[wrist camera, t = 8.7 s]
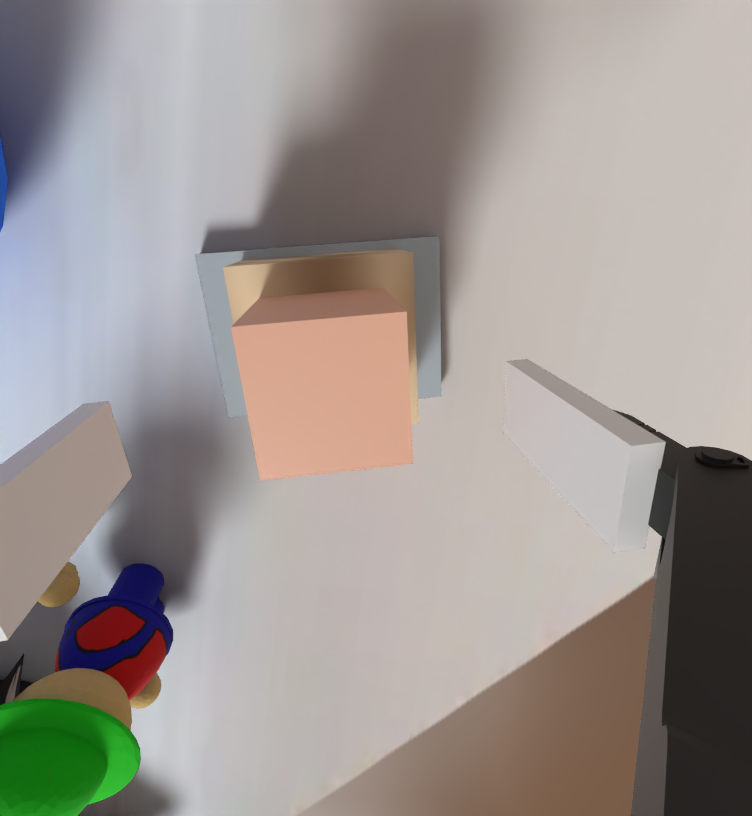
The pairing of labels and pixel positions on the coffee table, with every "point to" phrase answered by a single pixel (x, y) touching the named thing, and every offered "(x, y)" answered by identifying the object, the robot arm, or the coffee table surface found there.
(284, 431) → the salmon pink block
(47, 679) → the toy
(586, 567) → the coffee table surface
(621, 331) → the coffee table surface
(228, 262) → the board
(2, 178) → the vase
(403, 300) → the oak brick
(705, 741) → the robot arm
